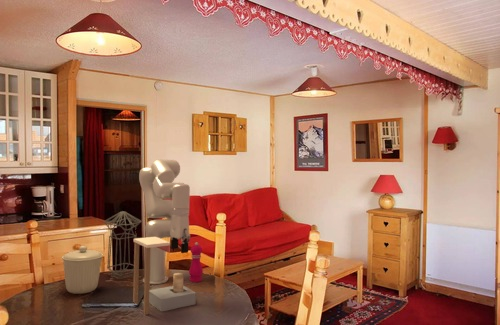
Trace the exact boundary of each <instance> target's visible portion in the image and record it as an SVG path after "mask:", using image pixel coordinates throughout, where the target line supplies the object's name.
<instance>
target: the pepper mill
mask: <svg viewBox="0 0 500 325" xmlns="http://www.w3.org/2000/svg"><path fill="white" fill-rule="evenodd" d="M190 253H191V259H192V261H191V264H190V267H189V270H188V274H189V281H190V282H191V283H200V282H202V280H203V278H202V276H203V273H204V272H203V271H204V270H203V267H202V264H201V258H202V253H203V248H202V246H201V245H199V242H197V241H196V242H195V243H194V245H192V246H191V248H190Z"/></svg>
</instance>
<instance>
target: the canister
mask: <svg viewBox="0 0 500 325" xmlns="http://www.w3.org/2000/svg"><path fill="white" fill-rule="evenodd" d="M103 257H104V254H103V253H102V252H100V251H98V250H93V249H88V246H86V245H80V246H79V247H78V250H73V251H69V252H67V253H65V254H64V255H62V256H61V260H62V261H63V272H64V281H65V288H66V290H67V292H68V293H70V294H73V295H74V294H75V295H76V294H77V295H81V294H82V295H83V294H87V293H88V294H89V293H91V292H93V291H95V290H96V289H97V287H98V284H99V280H100V279H99V278H100V274H101V273H100V272H101V267H102V265H101V264H102V258H103Z"/></svg>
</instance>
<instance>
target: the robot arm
mask: <svg viewBox="0 0 500 325" xmlns="http://www.w3.org/2000/svg"><path fill="white" fill-rule="evenodd" d="M180 172H181V165H180V163H179V162H178V161H177V160H174V159H156V160H154V161H153V162H152V163H151V165H150V166H146V167H143V168H141V169H140V170H139V175H138V178H139V183H140V187H141V188H142V189H141V190H142V192H143V194H144V195H143V196H144V204H145V212H146V216H147V217H148V218H150V219H152V220H149V221H147V222H146V224H145V227H144V228H145V229H144V230H145V236H146V237H145V238H147V237H158V238H160V239H166V238H170V239H171V242H170V249H172V250H174V249H178V248H179V240H180V241H181V244H180V254H188V253H189V243H190V239H191V234H190V220H189V219H190V218H189V216H190V195H191V191H190V190H191V189H190V185H189V184H185V183H183V182H174V180H175V179H176V178H177V177H178V176H179V175H180ZM165 218H166V219H165ZM166 253H167V252H166V251H163V250H161V249H159V248H157V247H150V285H161V284H165V283H167V282H168V281H169V277H168V276H166ZM142 283H144V278H142Z"/></svg>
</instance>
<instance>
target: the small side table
mask: <svg viewBox="0 0 500 325" xmlns="http://www.w3.org/2000/svg"><path fill="white" fill-rule="evenodd" d="M133 245H134V249H133V251H134V252H133V253H134V254H133V265H134V266H133V269H134V272H133V284H132V285H133V288H132V290H133V291H132V294H133V296H132V303H133V302H134V304H135V303H138V304H139V282H140V281H139V279H140V278H139V276H140V275H139V274H140V270H139V268H140V246H142V247H144V277H143V279H144V282H143V284H144V285H143V315H144V316H147V315H149V314H150V303H149V290H150V285H151V284H150V247H157V248H159V249H161V250H163V251H166V253H168V254H169V253H170V252H171V242H170V241H168V240H165V239H164V238H161V239H160V238H158V237H147V238H146V237H137V238H136V237H135V239H134V238H133Z"/></svg>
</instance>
